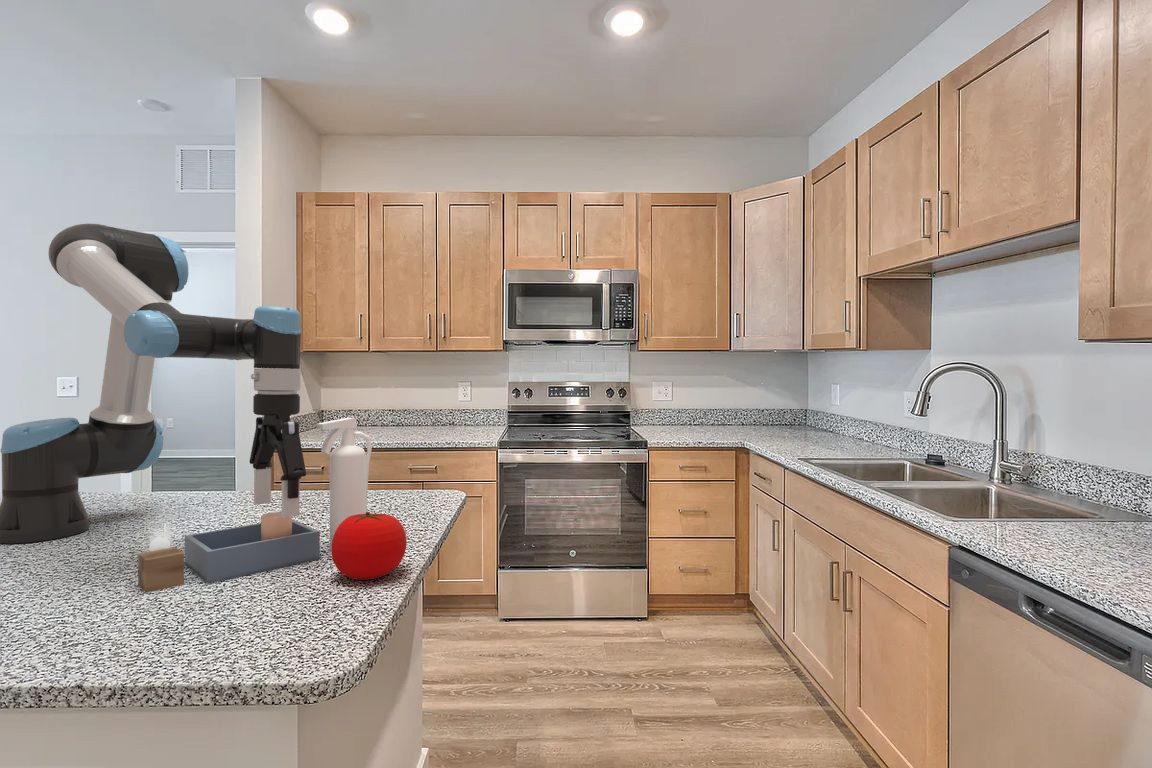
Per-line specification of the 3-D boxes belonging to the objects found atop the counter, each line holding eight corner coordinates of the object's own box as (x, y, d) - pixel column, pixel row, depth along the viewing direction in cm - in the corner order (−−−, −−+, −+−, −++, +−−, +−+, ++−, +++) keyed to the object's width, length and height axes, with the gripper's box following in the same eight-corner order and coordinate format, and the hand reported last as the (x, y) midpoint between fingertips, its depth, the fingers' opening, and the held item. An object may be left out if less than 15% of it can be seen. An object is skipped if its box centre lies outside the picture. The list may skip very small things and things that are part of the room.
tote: (184, 564, 103) (184, 535, 103) (289, 544, 116) (289, 518, 116) (207, 583, 94) (207, 551, 93) (319, 559, 106) (319, 531, 106)
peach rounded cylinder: (256, 553, 107) (256, 515, 107) (285, 547, 111) (285, 510, 111) (267, 559, 104) (266, 519, 104) (296, 553, 108) (296, 515, 107)
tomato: (322, 572, 99) (322, 510, 99) (391, 559, 106) (391, 501, 106) (343, 593, 90) (344, 524, 90) (417, 577, 97) (417, 514, 97)
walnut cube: (138, 585, 93) (138, 553, 93) (175, 577, 97) (175, 546, 97) (145, 593, 90) (145, 560, 90) (184, 584, 93) (183, 553, 93)
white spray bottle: (391, 542, 116) (386, 415, 116) (334, 559, 107) (327, 421, 106) (371, 537, 121) (366, 414, 120) (314, 553, 111) (308, 420, 110)
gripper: (231, 390, 113) (230, 501, 113) (281, 396, 96) (280, 526, 96) (273, 390, 118) (272, 495, 119) (327, 395, 101) (326, 518, 102)
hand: (275, 509), depth 108 cm, fingers open, 13 cm apart
